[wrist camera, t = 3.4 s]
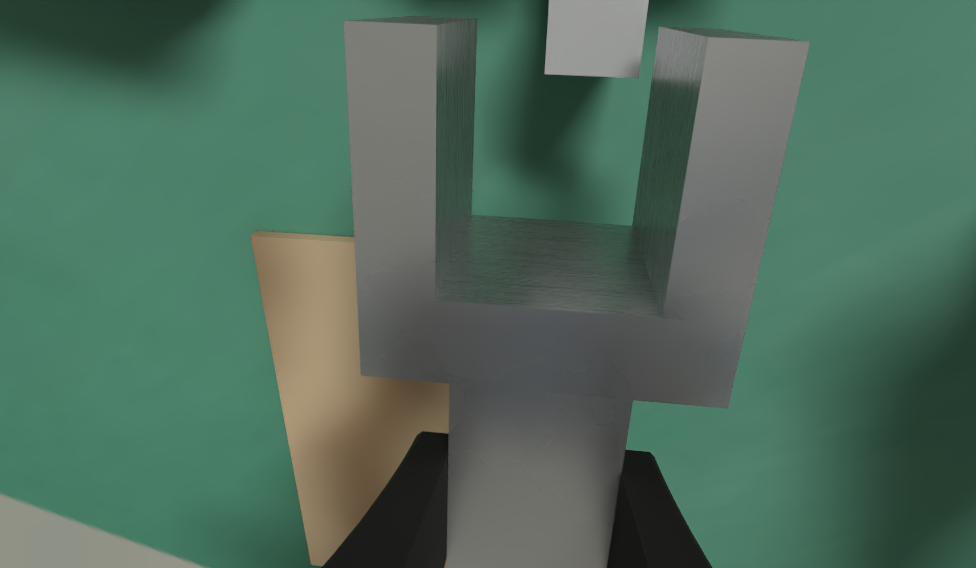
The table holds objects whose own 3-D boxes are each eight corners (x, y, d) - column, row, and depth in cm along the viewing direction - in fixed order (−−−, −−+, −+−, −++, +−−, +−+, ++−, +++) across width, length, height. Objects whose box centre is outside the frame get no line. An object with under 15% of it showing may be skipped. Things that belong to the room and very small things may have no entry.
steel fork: (726, 29, 12) (809, 41, 8) (629, 585, 18) (649, 757, 14) (413, 15, 13) (344, 20, 9) (418, 562, 18) (377, 721, 14)
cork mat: (490, 245, 21) (489, 251, 21) (482, 575, 30) (481, 583, 29) (255, 230, 22) (250, 236, 21) (314, 557, 30) (311, 565, 30)
